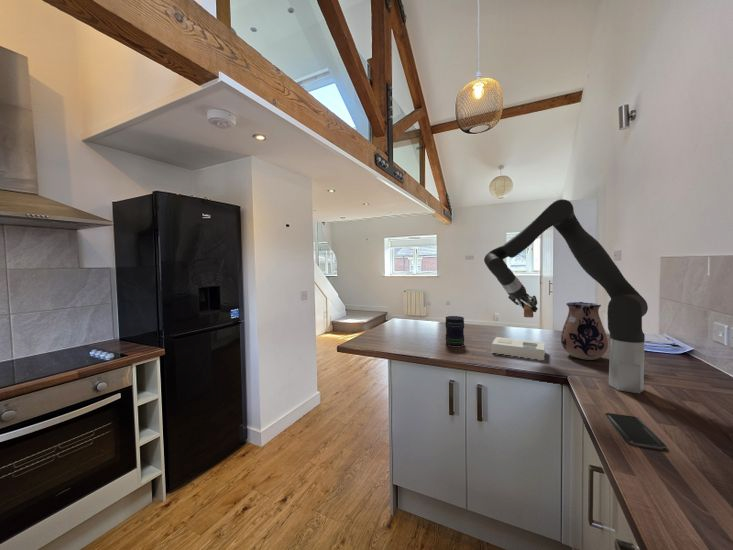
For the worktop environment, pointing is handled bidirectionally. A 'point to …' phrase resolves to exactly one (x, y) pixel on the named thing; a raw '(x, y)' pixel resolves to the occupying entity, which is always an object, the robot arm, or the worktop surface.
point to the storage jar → (454, 330)
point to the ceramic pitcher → (584, 332)
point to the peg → (528, 311)
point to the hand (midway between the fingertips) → (531, 310)
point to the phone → (635, 431)
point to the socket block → (519, 348)
